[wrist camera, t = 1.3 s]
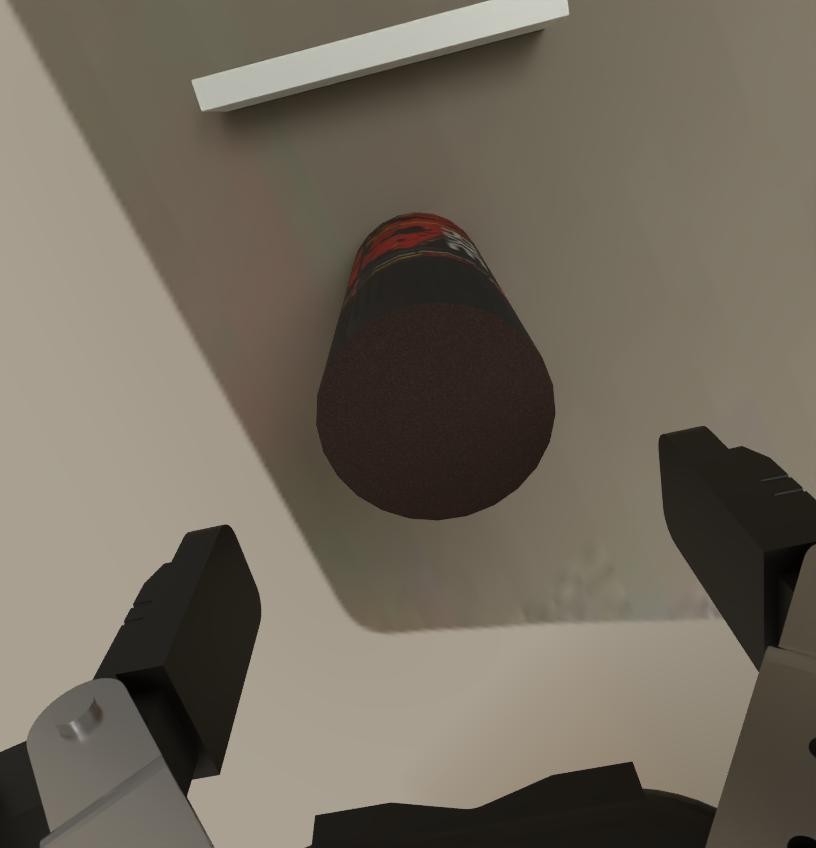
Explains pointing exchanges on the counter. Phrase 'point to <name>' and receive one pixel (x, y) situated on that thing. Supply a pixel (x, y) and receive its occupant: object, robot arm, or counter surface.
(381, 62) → the acrylic wall
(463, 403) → the deodorant
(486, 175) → the counter surface
